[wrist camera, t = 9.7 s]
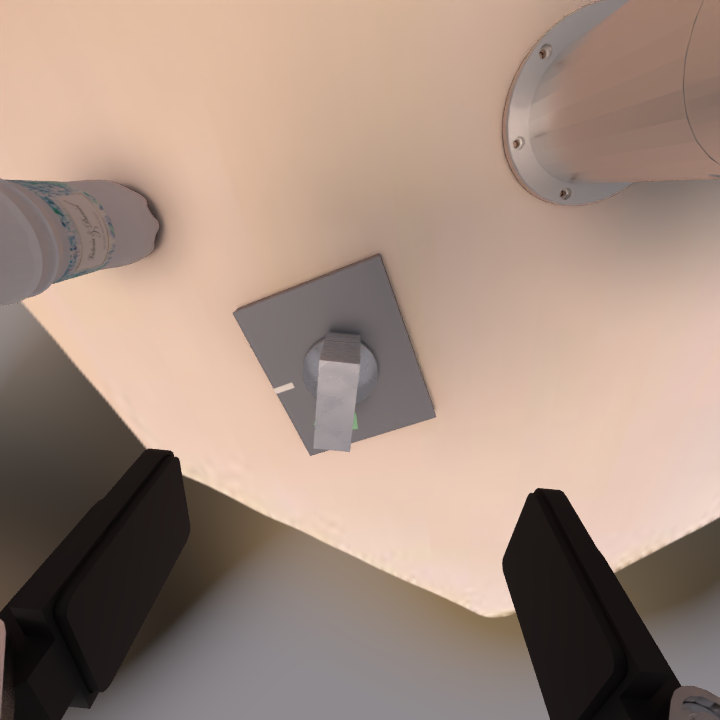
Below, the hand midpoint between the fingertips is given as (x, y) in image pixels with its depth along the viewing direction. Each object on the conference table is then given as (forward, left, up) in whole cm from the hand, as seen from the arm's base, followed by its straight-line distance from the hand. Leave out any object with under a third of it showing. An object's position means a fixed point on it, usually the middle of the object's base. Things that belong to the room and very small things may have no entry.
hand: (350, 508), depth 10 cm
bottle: (+16, -12, -26) cm, 33 cm away
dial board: (+4, +6, -26) cm, 27 cm away
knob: (+5, +7, -24) cm, 26 cm away
